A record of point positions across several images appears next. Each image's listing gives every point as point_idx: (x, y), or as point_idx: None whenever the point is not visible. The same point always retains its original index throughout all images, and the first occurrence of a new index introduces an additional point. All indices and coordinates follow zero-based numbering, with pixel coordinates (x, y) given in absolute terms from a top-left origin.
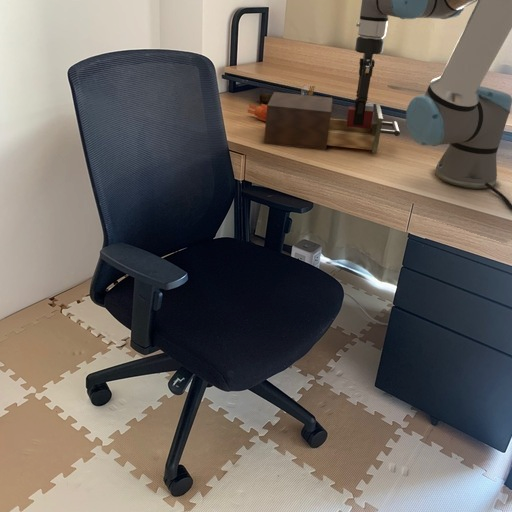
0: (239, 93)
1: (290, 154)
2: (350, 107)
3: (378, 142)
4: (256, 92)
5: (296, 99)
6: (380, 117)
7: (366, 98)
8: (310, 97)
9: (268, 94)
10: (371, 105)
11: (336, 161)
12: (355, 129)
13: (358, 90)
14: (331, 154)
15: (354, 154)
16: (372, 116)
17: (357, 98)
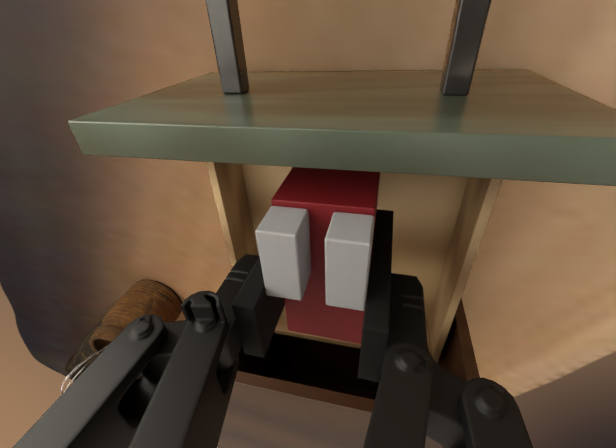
0: (71, 376)
1: (517, 366)
2: (307, 328)
3: (556, 83)
4: (33, 352)
5: None
6: (613, 165)
7: (525, 434)
8: (235, 428)
9: (76, 369)
10: (344, 257)
11: (612, 259)
12: (239, 180)
13: (223, 417)
14: (511, 266)
15: (506, 181)
16: (376, 187)
17: (255, 350)
